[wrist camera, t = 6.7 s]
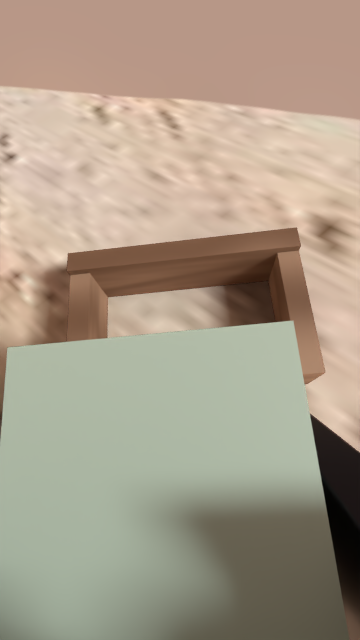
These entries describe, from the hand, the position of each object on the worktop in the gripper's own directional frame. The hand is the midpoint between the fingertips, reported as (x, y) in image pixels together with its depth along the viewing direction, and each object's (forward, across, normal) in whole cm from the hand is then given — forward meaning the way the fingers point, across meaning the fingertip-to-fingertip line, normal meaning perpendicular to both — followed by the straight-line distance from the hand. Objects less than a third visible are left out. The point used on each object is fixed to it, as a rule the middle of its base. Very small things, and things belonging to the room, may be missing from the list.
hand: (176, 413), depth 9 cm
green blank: (+4, 0, +5) cm, 7 cm away
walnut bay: (+12, 0, +3) cm, 13 cm away
